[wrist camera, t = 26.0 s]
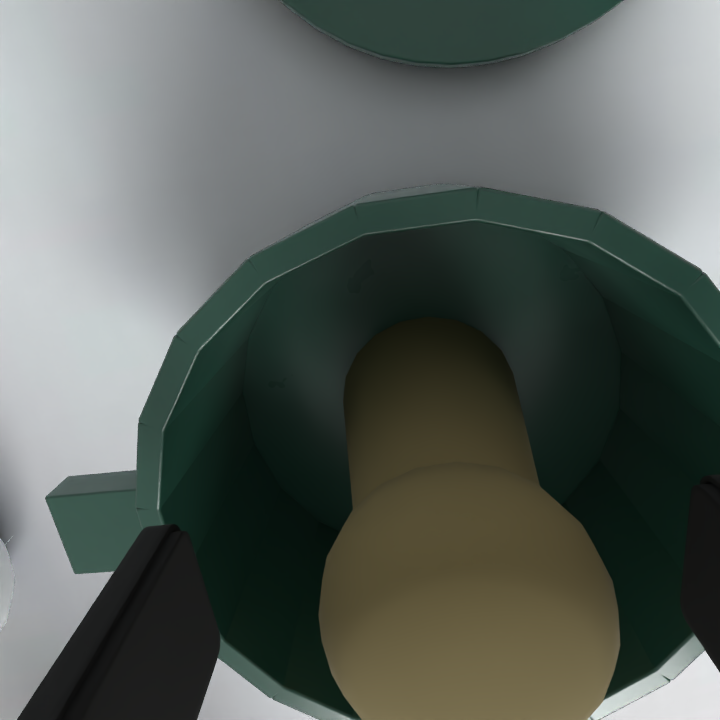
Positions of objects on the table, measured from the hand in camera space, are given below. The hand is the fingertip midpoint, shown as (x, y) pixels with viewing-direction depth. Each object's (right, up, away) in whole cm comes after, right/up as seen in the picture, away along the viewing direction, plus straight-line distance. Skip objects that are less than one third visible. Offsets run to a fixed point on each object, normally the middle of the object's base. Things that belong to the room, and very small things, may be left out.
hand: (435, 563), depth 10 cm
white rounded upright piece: (-17, -3, +12) cm, 21 cm away
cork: (+1, +3, +9) cm, 9 cm away
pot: (+1, +3, +9) cm, 9 cm away
